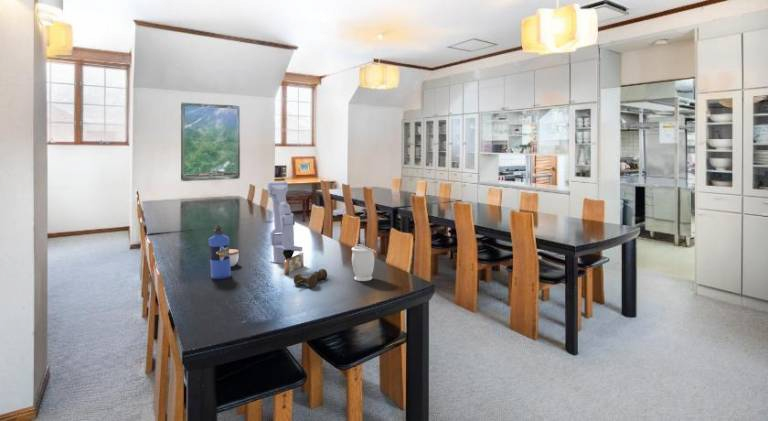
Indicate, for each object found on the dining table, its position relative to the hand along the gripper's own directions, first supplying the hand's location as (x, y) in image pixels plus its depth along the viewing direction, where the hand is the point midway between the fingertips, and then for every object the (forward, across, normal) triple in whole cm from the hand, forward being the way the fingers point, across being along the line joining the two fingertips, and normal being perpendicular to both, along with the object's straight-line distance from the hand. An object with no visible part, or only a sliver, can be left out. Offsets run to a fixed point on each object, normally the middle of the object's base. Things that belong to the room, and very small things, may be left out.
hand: (289, 264), depth 229 cm
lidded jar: (+3, -36, +2) cm, 36 cm away
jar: (+3, +42, -7) cm, 42 cm away
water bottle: (+3, -27, -18) cm, 33 cm away
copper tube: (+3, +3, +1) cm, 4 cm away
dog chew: (+3, +20, -19) cm, 28 cm away
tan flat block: (+3, +2, +1) cm, 3 cm away
